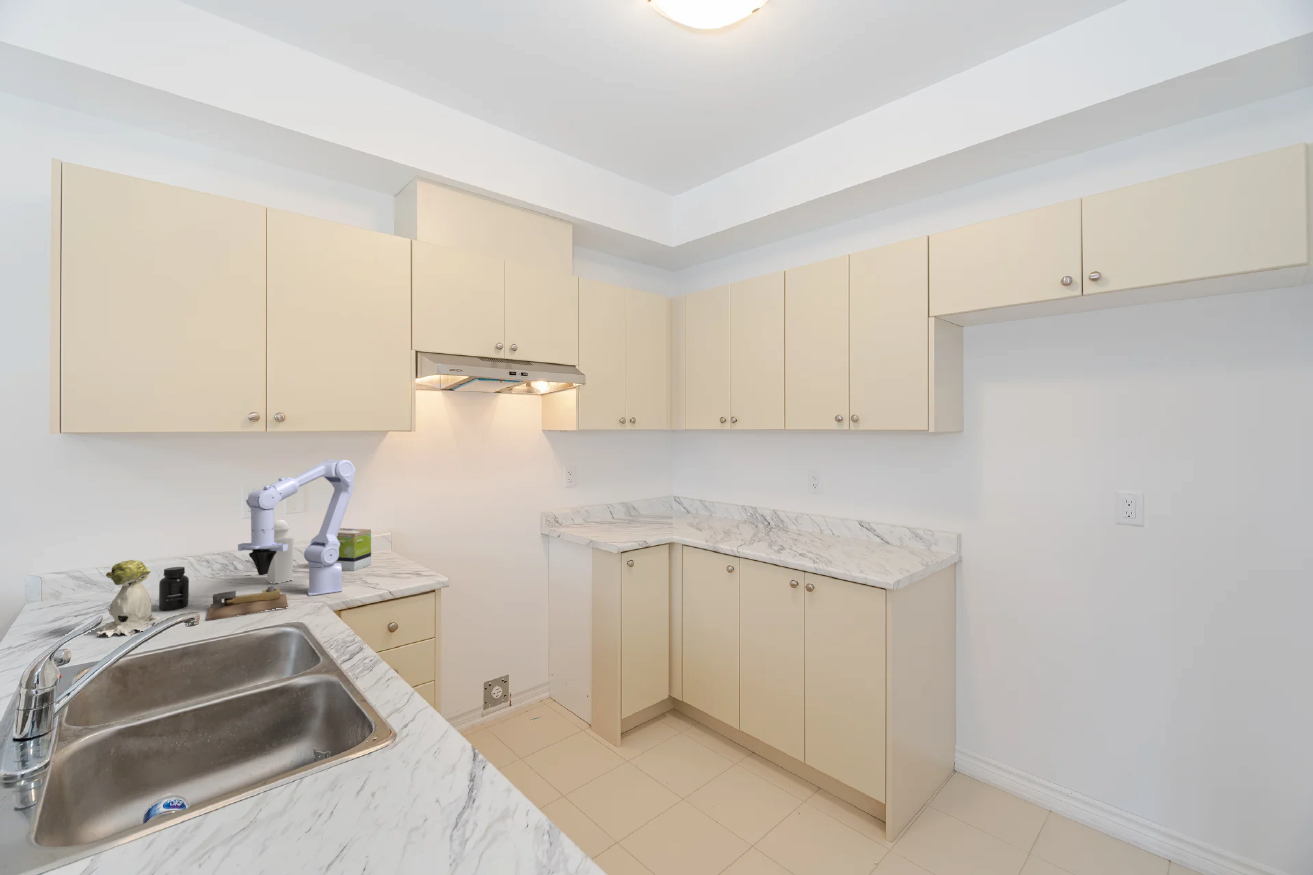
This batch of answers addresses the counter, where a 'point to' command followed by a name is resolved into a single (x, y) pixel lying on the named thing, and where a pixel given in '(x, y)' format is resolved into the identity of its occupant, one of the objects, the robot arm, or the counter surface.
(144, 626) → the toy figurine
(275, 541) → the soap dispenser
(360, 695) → the counter surface
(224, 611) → the hinge board
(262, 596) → the link
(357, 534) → the tea box
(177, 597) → the supplement bottle
